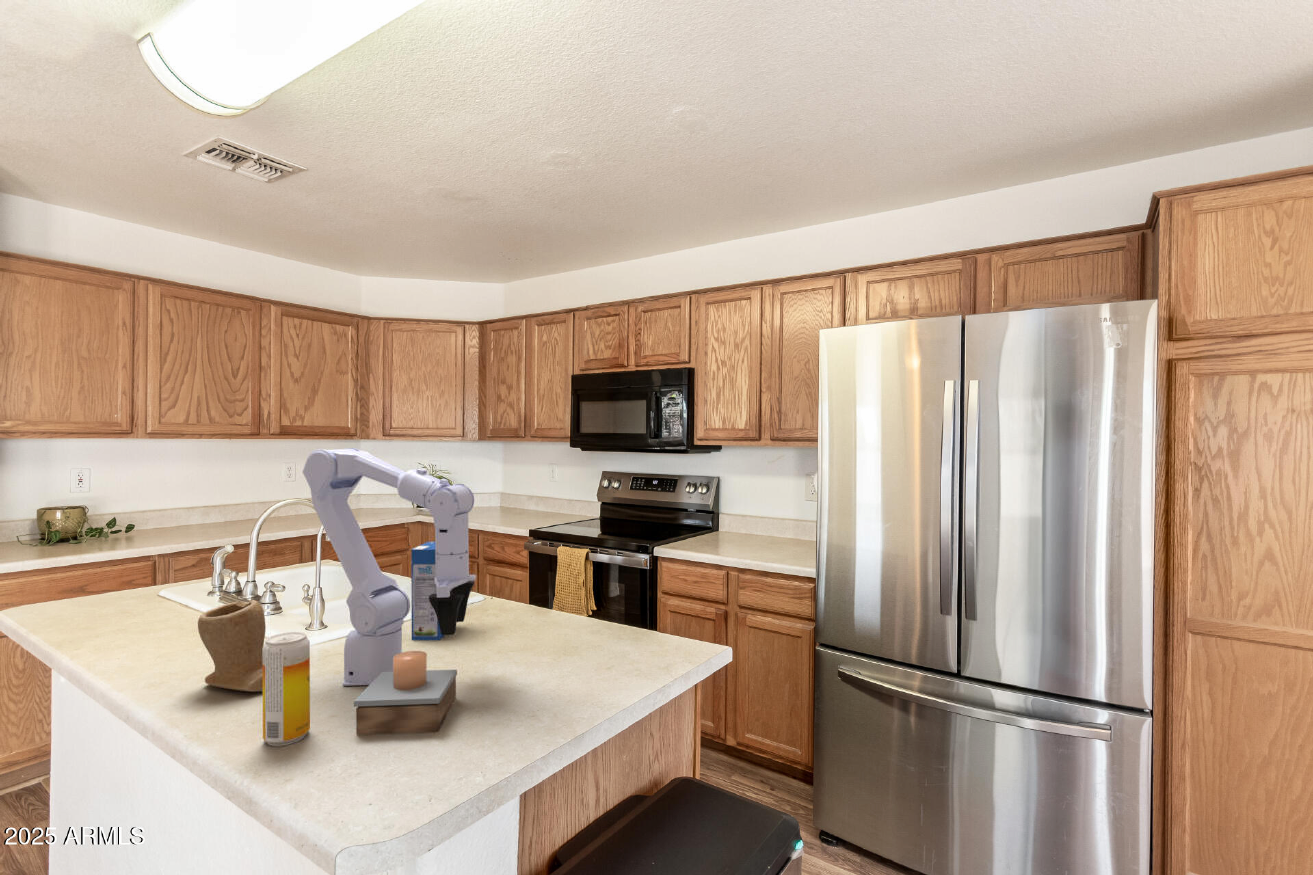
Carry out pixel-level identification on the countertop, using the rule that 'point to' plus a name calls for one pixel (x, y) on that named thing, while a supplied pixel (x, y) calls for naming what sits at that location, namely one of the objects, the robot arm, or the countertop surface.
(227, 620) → the stone cup
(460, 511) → the robot arm
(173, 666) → the countertop surface
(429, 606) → the milk carton
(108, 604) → the countertop surface
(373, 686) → the lid
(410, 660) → the tan rounded cylinder
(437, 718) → the box
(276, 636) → the beer can
